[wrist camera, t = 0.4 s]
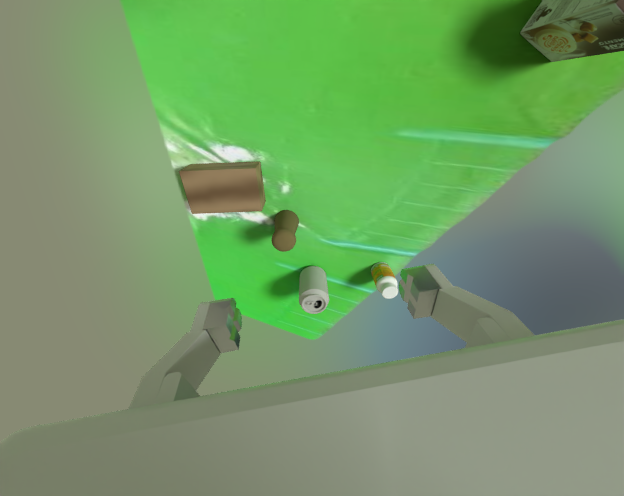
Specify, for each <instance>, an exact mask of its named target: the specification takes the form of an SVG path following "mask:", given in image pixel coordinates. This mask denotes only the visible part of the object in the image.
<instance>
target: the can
mask: <svg viewBox="0 0 624 496" xmlns="http://www.w3.org/2000/svg"><path fill="white" fill-rule="evenodd" d="M328 302H329V296H328V287H327V279H326V273H325V271H324V270H323V269H322V268H320V267H317V266H309V267H307V268H305V269H304V270H302V272H301V273H300V281H299V303H300V305H301V307H302V308H303V310H304V311H306V312H308V313H312V314H316V313H320V312H322V311H323V310H325V308H326V306H327V305H328Z"/></svg>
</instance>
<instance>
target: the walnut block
mask: <svg viewBox="0 0 624 496" xmlns="http://www.w3.org/2000/svg"><path fill="white" fill-rule="evenodd" d="M179 173H180V176H181V179H182V183H183V186H184V189H185V192H186V196H187V199H188V202H189V205H190V209H191V212H192V214H198V213H223V212H249V211H262V209H263V207H264V204H265V201H266V200H265V193H264V186H263V178H262V171H261V164H260V162H235V163H209V164H191V165H189V166H187V167H185V168H184V169H182V170H180V171H179Z"/></svg>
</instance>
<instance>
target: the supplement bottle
mask: <svg viewBox="0 0 624 496" xmlns="http://www.w3.org/2000/svg"><path fill="white" fill-rule="evenodd" d="M371 274H372V277H373V280H374V282H375V285H376V288H377V290H378V291H379V292H381V293H382V295H383V297H385V298H393V297H395V296H396V295H397V294H398V289H397V281H396V279H395V276H394V274H393V272H392V270H391V268H390V266H389V265H388V264H387V263H384V262H379V263H376V264H375V265H374V266H373V267H372V268H371Z"/></svg>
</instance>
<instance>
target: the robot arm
mask: <svg viewBox="0 0 624 496" xmlns="http://www.w3.org/2000/svg"><path fill="white" fill-rule="evenodd" d="M400 275H401V277H402V280H401V281H400V282H399V291H400V294H401V297H402V299H403V300H404V301H405V302H407V303H408V310H409V311H410V313H411V315H412V316H413V318H414V319H415V318H422V317H428V316H431V317H432V318H433V319H435V320H436V321H438V322H439V323H440V324H442V325H443V326H445V327H446V328H447V329H449V330H450V331H451V332H453V333H454V334H456V335H457V336H458V337H460V338H461V339H463V340H464V341H465V342H467V345H466V347H465V348H464V349H458V350H452V351H447V352H441V353H436V354H430V355H425V356H419V357H414V358H409V359H403V360H397V361H392V362H386V363H381V364H375V365H370V366H365V367H359V368H354V369H349V370H343V371H337V372H331V373H326V374H321V375H315V376H310V377H304V378H299V379H293V380H288V381H282V382H276V383H271V384H265V385H260V386H254V387H249V388H243V389H238V390H233V391H227V392H221V393H216V394H210V395H205V396H200V395H199V394H198V393H197V392H196V390H197V388H198V387H199V385H200V384H201V382H202V381H203V379H204V377H205V376H206V375H207V373H208V372H209V371H210V369H211V367H212V366H213V365H214V363H215V362H216V360H217V359H218V357H219V356H220V353H224V352H229V351H234V350H238V349H239V342H240V335H239V333H238V332H239V331H240V330H241V327H242V317H241V313H240V310H239V309H238V308H236V301H235V299H234V298H229V299H222V300H215V301H210V302H202V303H200V305H199V306H198V309H197V312H196V316H195V318H194V321H193V324H192V328H191V331H190V332H189V333H186V334H185V335H184V336H183V337H182V338H181V339H180V340H179V341H178V342H177V343H176V344H175V345H174V346H173V347H172V348H171V349H170V350H169V351H168V352H167V353H166V354H165V355H164V356H163V357H162V358H161V359H160V360H159V361H158V362H157V363H156V364H155V365H154V366H153V367H152V368H151V369H150V370H149V371H148V372H147V373H146V374H145V375H144V376H143V377H142V379H141V381H140V384H139V386H138V389H137V391H136V393H135V395H134V398H133V400H132V402H131V405H130V407H129V409H127V410H122V411H116V412H111V413H105V414H100V415H94V416H89V417H84V418H78V419H72V420H67V421H61V422H56V423H50V424H44V425H38V426H32V427H28V428H24V429H21V430H19V431H16V432H14V433H13V434H11V435H9V436H8V437H7V438H5V439H4V440H2V441H1V442H0V496H624V320H618V321H612V322H607V323H601V324H595V325H590V326H585V327H579V328H574V329H568V330H563V331H557V332H552V333H546V334H542V335H534V334H533V333H532V332H531V331H530V330H529V329H528V328H527V327H526V326H525V325H524V324H523V323H522V322H521V321H520V320H519V319H518V318H517V317H516V316H515V315H514V314H513V313H512V312H511V311H508V310H506V309H504V308H502V307H500V306H497V305H495V304H493V303H491V302H489V301H487V300H485V299H483V298H480V297H478V296H476V295H474V294H472V293H470V292H468V291H466V290H463V289H461V288H459V287H457V286H455V287H453V286H452V284H451V283H450V282H449V281H448V280H447V278H446V277H445V276H444V275H443V274H442V273H441V271H440V270H439V269H438V268H437V267H436V266H435V265H434V264H429V265H423V266H418V267H412V268H406V269H402V270H401V274H400Z"/></svg>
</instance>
